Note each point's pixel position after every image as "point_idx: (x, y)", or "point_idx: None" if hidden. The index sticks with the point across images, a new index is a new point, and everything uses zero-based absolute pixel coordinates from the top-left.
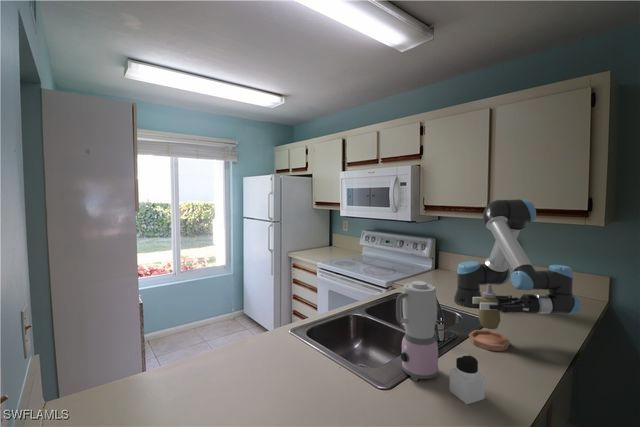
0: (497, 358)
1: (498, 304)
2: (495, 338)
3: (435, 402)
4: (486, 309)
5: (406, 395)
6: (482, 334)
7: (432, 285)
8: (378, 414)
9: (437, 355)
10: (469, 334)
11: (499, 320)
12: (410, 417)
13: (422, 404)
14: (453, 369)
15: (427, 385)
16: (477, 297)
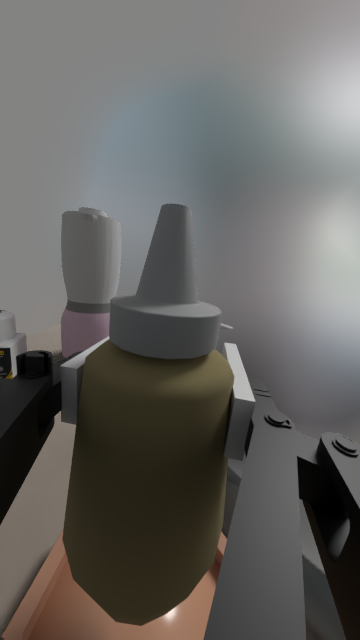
0: (5, 528)
1: (45, 369)
2: None
3: (27, 351)
4: None
5: (61, 342)
6: None
7: (92, 215)
8: (56, 328)
9: (64, 332)
10: None
11: (64, 538)
12: (32, 336)
13: (36, 344)
14: (19, 333)
15: (59, 356)
16: (227, 351)
